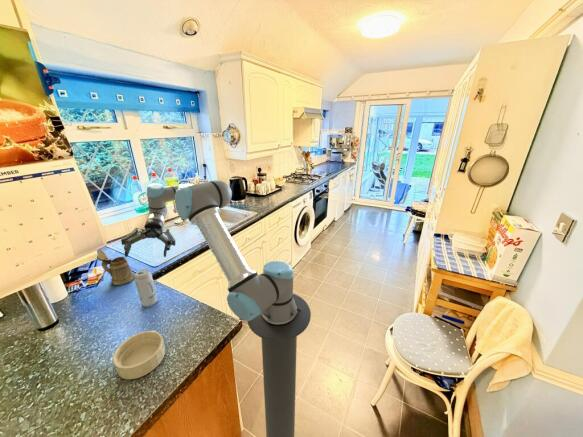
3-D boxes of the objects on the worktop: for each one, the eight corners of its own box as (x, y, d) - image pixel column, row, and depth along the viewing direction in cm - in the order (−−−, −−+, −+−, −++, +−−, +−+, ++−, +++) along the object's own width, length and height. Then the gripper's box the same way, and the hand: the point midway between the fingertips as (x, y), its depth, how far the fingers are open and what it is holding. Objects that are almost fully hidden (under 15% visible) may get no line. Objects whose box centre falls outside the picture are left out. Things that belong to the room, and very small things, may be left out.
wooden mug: (106, 276, 116) (95, 244, 109) (137, 273, 119) (128, 241, 113) (97, 288, 108) (85, 254, 101) (130, 283, 111) (121, 250, 105)
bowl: (171, 340, 82) (168, 328, 80) (157, 377, 70) (153, 364, 68) (130, 345, 80) (126, 333, 78) (108, 384, 68) (103, 371, 66)
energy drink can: (155, 306, 97) (147, 276, 92) (139, 308, 96) (130, 278, 91) (159, 297, 103) (152, 268, 97) (144, 298, 102) (136, 269, 96)
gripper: (183, 231, 118) (179, 260, 102) (124, 229, 109) (109, 261, 92) (183, 219, 115) (179, 247, 98) (122, 216, 105) (107, 246, 88)
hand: (145, 254), depth 95 cm, fingers open, 13 cm apart
